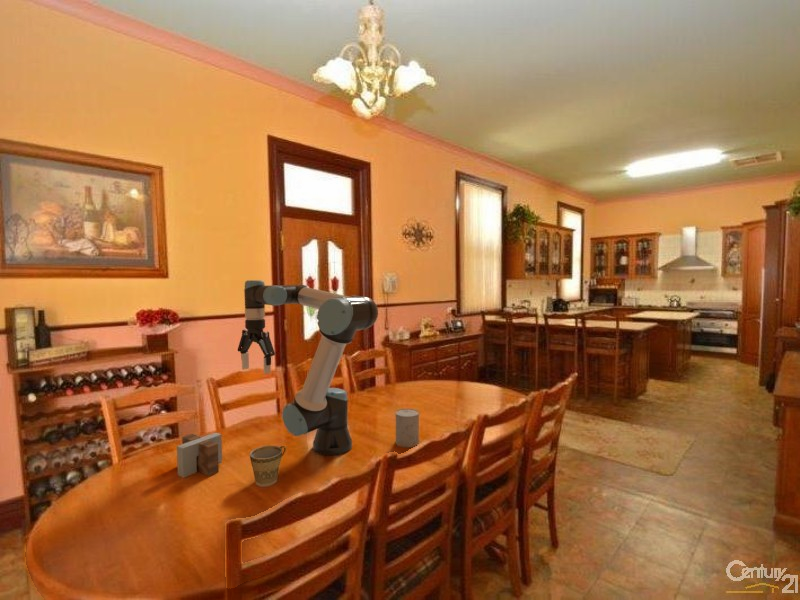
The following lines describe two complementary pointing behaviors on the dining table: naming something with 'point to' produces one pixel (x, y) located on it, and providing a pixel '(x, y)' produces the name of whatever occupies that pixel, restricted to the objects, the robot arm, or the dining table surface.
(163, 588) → the dining table surface
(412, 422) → the grey cylinder
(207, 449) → the walnut upright
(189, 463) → the grey arch block
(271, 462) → the ceramic cup
